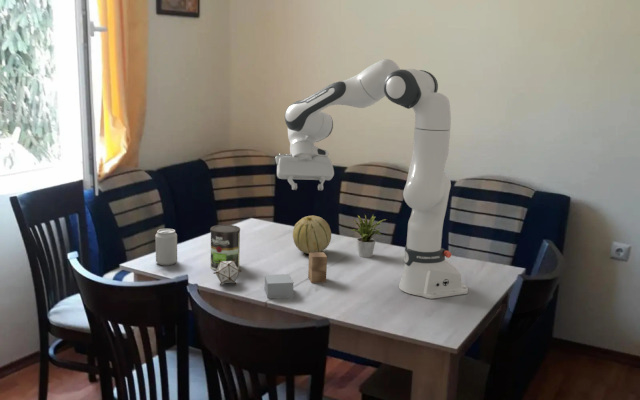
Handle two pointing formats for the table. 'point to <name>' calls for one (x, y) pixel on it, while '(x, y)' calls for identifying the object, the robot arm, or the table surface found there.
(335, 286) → the table surface
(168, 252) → the can
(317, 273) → the walnut block
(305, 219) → the cantaloupe
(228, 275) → the game die
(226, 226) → the coffee can
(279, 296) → the base block
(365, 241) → the house plant
